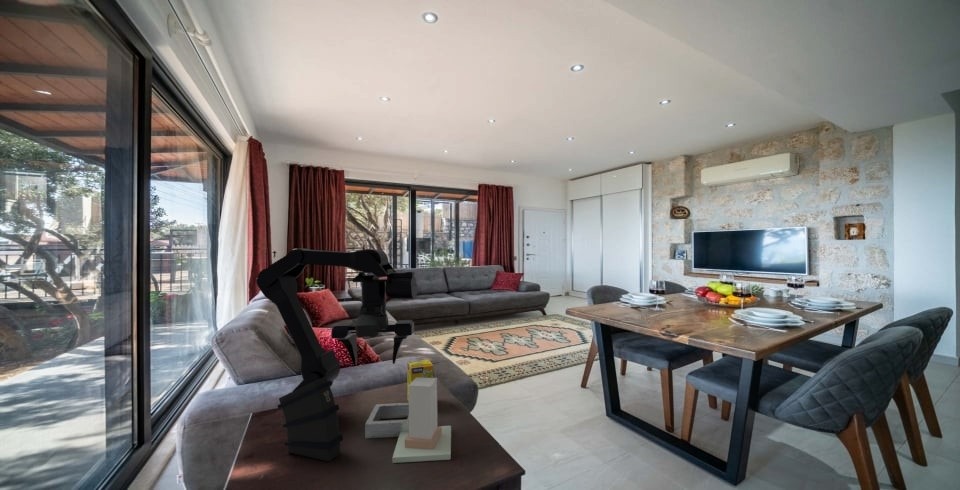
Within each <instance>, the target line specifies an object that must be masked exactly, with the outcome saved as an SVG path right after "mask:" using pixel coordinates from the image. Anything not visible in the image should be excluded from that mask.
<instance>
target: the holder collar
mask: <svg viewBox="0 0 960 490" xmlns="http://www.w3.org/2000/svg"><path fill="white" fill-rule="evenodd" d="M401 418H402V419H401ZM403 418H404V419H403ZM405 418H406V419H405ZM381 419H382V420H381ZM383 419H389V420H383ZM407 431H409V403H408V402H398V403H397V402H396V403H393V402H392V403H377V404H375V405H374V407H373V408H372V411H371V412H370V414H369V417H368V419H367V420H366V422H365V425H364V434H365V435H364V437H365V439H377V438H378V439H380V438H397V437H398V438H399V435H400V432H407Z"/></svg>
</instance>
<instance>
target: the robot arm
mask: <svg viewBox="0 0 960 490" xmlns="http://www.w3.org/2000/svg"><path fill="white" fill-rule="evenodd" d="M308 265H315V266H326V267H327V266H330V267H344V268H347V269H348V268H349V269H351V270H354V271H358V274H357V275H356V276H355V277H354V278H353V279H352V280H351V281H352V283H361V306H360V312H359V316H358V317H357V319H356V321H346V322H344V321H343V322H341V321H340V322H338V323H337V324H335V325H334V326H333V327H332V328H331V331H330V338H331V339H332V340H333V339H335V340H336V339H337V340H336V341H337V342H338V343H342V344H343V345H344V346H345V348H346V350H347V352H348V354H349V357H350V359H351V362H352V364H353V366H354V367H355V366H357V364H358V341H357V339H361V338H366V337H367V338H375V337H377V336H379V333H395V335H394V337H393V347H392V348H393V349H392V365H395V363H396V360H397V357H398V355H399V351H400V347H401V345H402V343H403V340H406V339H407V338H408V337H409V336H412V335H413V333H414V332H415V321H413V319H404V320H403V319H401V320H399V319H398V320H397V321H396V322H395V323H390V324H389V318H388V314H387V298H390V300H393V301H394V300H395V301H399V300H402V301H403V300H404V301H405V300H408V301H409V300H410V301H411V300H412V301H413V300H416V298H417V296H418V284H417V279H416V276H415V272H414V271H406V272H405V271H404V272H398V271H396V270H395V269H394V267H393V266H392V265H391V263H390V261H389V256H388V255H387V253H386V252H385V251H384V250H382V249H379V248H378V249H377V248H375V249H374V248H364V249H358V250H352V251H336V250H335V251H334V250H333V251H332V250H320V249H318V250H317V249H308V248H301V247H300V248H293V249H292V250H290V251H289V252H288V253H287V254H286V255H285V256H283V257H281V258H279V259H277V260H276V261H274V262H273V263H271V264H270V265H269V266H268V267H266V268H264V269H262V270H260V271H259V273H258V274H257V277H256V279H255V282H256V286H257V287H258V289H259V290H260V292H261V293H262V294H263V296H264V297H265V298H266V299H267V300H268V301H270V302H271V303H272V304H274V305H275V306H276V308H277V310H278V312H279V314H280V316H281V318H282V320H283V322H284V324H285V326H286V328H287V330H288V333H289V335H290V336H291V339H292V341H293V343H294V345H295V347H296V349H297V351H298V353H299V355H300V374H301V377H302V381H301V382H300V383H299V384H298V385H297V386H296V387H295V388H293V390H292V392H293V391H295V390H297V389H299V388H301V387H303V386H306V385H308V384H310V383H312V382H314V381H316V380H318V379H320V378H323V377H325V376H326V377H327V380H328V381H330V380H331V382H332V384H331V385H329V386H330V388H331V387H332V386H333V383H334V381H335V380H336V379H337V378H338V377H339V374H340V372H341V370H340V369H341V368H340V364H341V361H339V360H338V358H337V356H336V353H335V350H334V349H330V350H329V351H327V350H326V349H325V348H323V347H322V345H321V344H320V341H319V339H318V337H317V335H316V332H315V331H314V329H313V327H312V325H311V322H310V321H309V318H308V317H307V314H306V312H305V310H304V308H303V306H302V304H301V302H300V300H299V298H298V281H297V279H298V277H299V276H300V275H301V274H302V273H303V272H304V270H305V268H306V267H307V266H308ZM369 273H371V274H369Z"/></svg>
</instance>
